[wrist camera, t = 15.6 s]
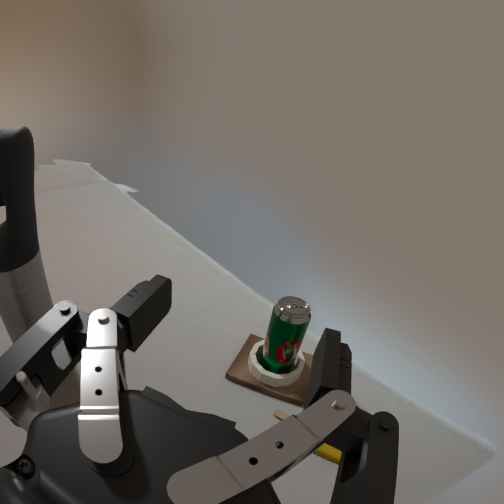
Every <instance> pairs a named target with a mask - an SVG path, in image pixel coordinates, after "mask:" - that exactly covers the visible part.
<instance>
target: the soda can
mask: <svg viewBox="0 0 504 504" xmlns="http://www.w3.org/2000/svg"><path fill="white" fill-rule="evenodd" d="M310 319H311V314H310V306H309V305H308V303H307V302H305V301H304V300H302V299H300V298H297V297H292V296H287V297H283V298H281V299H280V300H279V301H278V303H277V304H276V305H275V306H274V308H273V311H272V315H271V319H270V323H269V327H268V331H267V334H266V338H265V342H264V346H263V349H262V353H261V357H260V361H259V364H260V365H261V366H262V367H263V368H264V369H265V370H266V371H269V372H272V373H275V374H288V373H289V372H290V371H291V369H292V367H293V364H294V362H295V359H296V356H297V354H298V351H299V349H300V346H301V344H302V341H303V338H304V336H305V333H306V330H307V327H308V325H309V322H310Z"/></svg>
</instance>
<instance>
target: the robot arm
mask: <svg viewBox="0 0 504 504" xmlns="http://www.w3.org/2000/svg"><path fill="white" fill-rule="evenodd" d="M0 206H6V221H4V222H3V223H2V224H0V315H1V318H2V320H3V323H4V325H5V327H6V329H7V332H8V334H9V336H10V338H11V340H12V342H13V345H12V346H11V347H10V348H9V349H8V350H7V351H6V352H5V353H4V354H3V355H2V356H1V357H0V410H1V411H2V412H3V414H4V415H5V416H6V417H8V418H9V419H10V420H11V421H12V422H13V424H15V425H16V426H18V427H22V428H23V429H24V430H25V431H26V432H27V433H28V434H27V440H26V444H25V447H24V450H23V452H22V454H21V456H20V457H19V458H18V459H17V460H15V461H14V462H12V463H10V464H8V465H6V466H3V467H1V468H0V504H281V503H280V501H279V499H278V497H277V495H276V493H275V491H274V489H273V487H272V484H271V483H272V482H274V481H275V480H277V479H278V478H280V477H281V476H283V475H284V474H285V473H287V472H288V471H290V470H291V469H292V468H293V467H295V466H296V465H297V464H298V463H300V462H301V461H302V460H304V459H305V458H306V457H308V456H309V455H310V454H312V453H313V452H314V451H316V450H317V449H318V448H319V447H321V446H322V445H323V444H324V443H326V444H328V445H330V446H332V447H334V448H336V449H338V450H340V451H342V452H341V458H340V463H339V468H338V472H337V477H336V481H335V486H334V490H333V494H332V498H331V502H330V504H394V496H395V487H396V477H397V464H398V444H399V424H398V421H397V419H396V418H395V417H394V416H393V415H392V414H390V413H388V412H383V411H382V412H377V413H375V414H374V415H371V414H369V413H367V412H365V411H363V410H361V409H360V408H358V407H357V406H356V403H355V400H354V398H353V397H352V396H351V368H352V363H351V361H352V353H351V350H350V348H349V346H348V345H347V344H345V343H341V333H340V331H336V330H332V329H328V328H325V330H324V332H323V334H322V337H321V339H320V341H319V343H318V345H317V348H316V350H315V352H314V355H313V359H312V364H311V370H310V376H309V382H308V388H307V393H306V399H305V404H304V409H303V411H302V412H301V413H299V414H298V415H296V416H295V415H291V416H289V417H287V418H285V419H284V420H282V421H281V422H279V423H277V424H276V425H274V426H273V427H271V428H269V429H268V430H266V431H264V432H263V433H261V434H259V435H257V436H256V437H254V438H252V439H250V440H248V438H247V437H245V436H244V435H243V434H242V433H241V432H239V431H238V430H236V429H235V425H236V422H233V421H230V420H227V419H224V418H222V417H219V416H216V415H213V414H207V413H201V412H195V411H189V410H186V409H184V408H183V407H182V406H180V405H179V404H178V403H176V402H175V401H173V400H172V399H171V398H170V397H168V396H167V395H165V394H163V393H160V392H158V391H156V390H154V389H152V388H150V387H148V386H146V387H145V389H144V390H143V391H140V390H128V388H127V382H126V371H125V358H124V352H125V351H126V349H129V350H131V351H133V352H135V351H136V350H137V349H138V348H139V346H140V345H141V344H142V343H143V342H144V340H145V339H146V338H147V337H148V336H149V335H150V333H151V332H152V331H153V330H154V329H155V328H156V326H157V325H158V324H159V323H160V322H161V321H162V319H163V318H164V317H165V316H166V315H167V313H168V312H169V310H170V308H171V303H172V281H171V279H169V278H166V277H163V276H161V275H156V276H155V277H153V278H152V279H151V280H150V281H147V280H146V281H143V282H141V283H139V284H137V285H136V286H135V287H134V288H132V290H130V291H129V292H128V293H127V295H124V296H123V297H122V298H121V299H120V300H119V301H118V302H117V303H115V304H114V305H113V306H112V307H111V308H110V309H104V308H103V309H98V310H96V311H94V312H93V313H92V314H89V313H85V312H80V311H78V307H77V305H76V304H75V303H74V302H72V301H62V302H60V303H58V304H57V305H55V306H53V303H52V299H51V296H50V292H49V288H48V284H47V280H46V276H45V272H44V267H43V263H42V258H41V253H40V248H39V242H38V235H37V223H36V212H35V200H34V143H33V138H32V134H31V132H30V130H29V129H28V128H27V127H25V126H16V127H10V128H5V129H0ZM81 358H82V363H81V395H80V402H79V403H75V404H71V405H67V406H63V407H59V408H55V409H50V410H49V408H48V407H49V404H50V398H49V397H50V396H51V395H52V394H53V392H54V391H55V390H56V389H57V387H58V386H59V385H60V384H61V382H62V381H63V380H64V379H65V378H66V376H67V375H68V374H69V373H70V371H71V370H72V369H73V368H74V367H75V366H76V364H77V363H78V362H79V361H80V360H81Z"/></svg>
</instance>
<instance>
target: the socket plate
mask: <svg viewBox="0 0 504 504" xmlns="http://www.w3.org/2000/svg"><path fill="white" fill-rule="evenodd" d="M264 342H265V339H264V338H261V337H258V336H255V335H253V334H250V336H249V337H248V339H247V341H246V342H245V344H244V346H243V347H242V349H241V350H240V352H239V354H238V355H237V357H236V358H235V360H234V361H233V363H232V365H231V366H230V368H229V369H228V371H227V372H226V376H225V377H226V378H228V379H230V380H233V381H235V382H238V383H240V384H243V385H245V386H248V387H250V388H253V389H256V390H258V391H261V392H264V393H266V394H269V395H272V396H275V397H278V398H281V399H283V400H286V401H289V402H292V403H296V404H299V405H303V404H304V402H305V398H306V393H307V388H308V382H309V376H310V370H311V364H312V359H313V355H310V354H307V353H304V352H302V351H301V350H300V349H299V351H298V354H297V356H296V359H295V362H294V364H293V367H292V369H291V371H290V372H289V373H288V374H275V373H272V372H269V371H266V370H265V369H264V368H263V367H262V366H261V365H260V364H259V361H260V357H261V353H262V349H263V346H264Z"/></svg>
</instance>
